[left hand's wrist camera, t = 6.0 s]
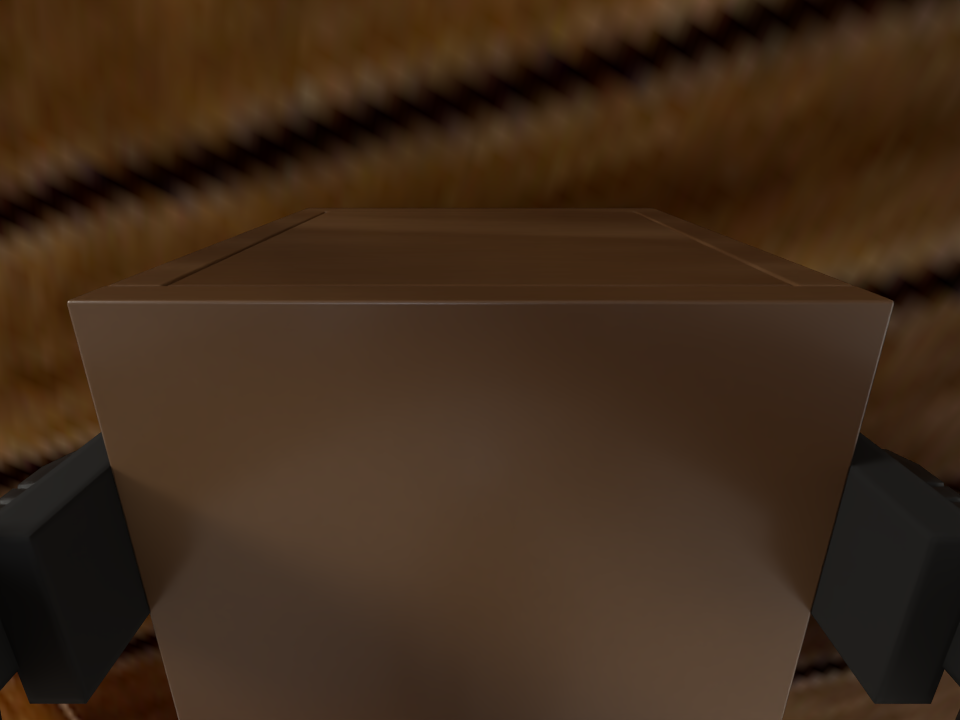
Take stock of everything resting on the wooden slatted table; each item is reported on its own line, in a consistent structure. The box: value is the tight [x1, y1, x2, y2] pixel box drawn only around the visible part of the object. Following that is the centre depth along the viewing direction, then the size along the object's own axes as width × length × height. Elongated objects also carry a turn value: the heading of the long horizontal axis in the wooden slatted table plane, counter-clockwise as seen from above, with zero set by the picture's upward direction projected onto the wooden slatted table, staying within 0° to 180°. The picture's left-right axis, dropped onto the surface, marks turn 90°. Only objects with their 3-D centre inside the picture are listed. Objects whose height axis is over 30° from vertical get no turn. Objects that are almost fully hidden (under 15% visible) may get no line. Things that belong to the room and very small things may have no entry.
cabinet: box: [67, 208, 894, 720], centre depth 16 cm, size 20×10×11 cm, turn 0°
